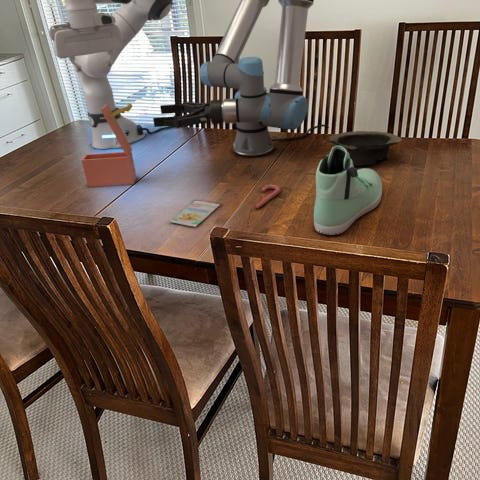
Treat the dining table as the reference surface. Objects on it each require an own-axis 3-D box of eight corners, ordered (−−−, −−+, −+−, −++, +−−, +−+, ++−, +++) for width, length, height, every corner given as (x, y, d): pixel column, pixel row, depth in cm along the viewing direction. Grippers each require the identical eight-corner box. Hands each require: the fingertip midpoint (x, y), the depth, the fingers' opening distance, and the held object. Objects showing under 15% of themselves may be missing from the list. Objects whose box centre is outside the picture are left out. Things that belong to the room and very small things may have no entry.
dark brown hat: (359, 176, 156) (359, 149, 151) (314, 159, 176) (313, 134, 172) (416, 158, 164) (418, 131, 160) (367, 143, 185) (368, 119, 180)
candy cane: (241, 205, 145) (241, 201, 144) (268, 186, 155) (268, 182, 154) (258, 210, 142) (258, 205, 141) (284, 190, 152) (284, 185, 151)
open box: (88, 187, 165) (81, 160, 160) (92, 180, 170) (85, 154, 165) (133, 184, 165) (128, 157, 159) (136, 177, 169) (131, 151, 164)
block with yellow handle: (100, 109, 151) (124, 99, 149) (104, 105, 156) (127, 95, 154) (126, 156, 159) (149, 147, 158) (130, 150, 164) (151, 141, 162)
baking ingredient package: (169, 220, 138) (195, 199, 150) (169, 222, 139) (195, 200, 150) (195, 225, 135) (220, 203, 146) (195, 227, 135) (220, 205, 147)
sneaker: (389, 187, 148) (396, 123, 138) (356, 242, 123) (361, 168, 112) (346, 181, 154) (350, 119, 144) (306, 232, 129) (307, 161, 118)
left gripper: (49, 25, 134) (62, 76, 141) (120, 16, 142) (128, 65, 149) (45, 24, 138) (57, 73, 146) (113, 15, 147) (122, 62, 154)
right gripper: (222, 136, 145) (152, 140, 146) (225, 111, 166) (165, 115, 167) (219, 111, 141) (148, 116, 142) (223, 89, 162) (161, 93, 163)
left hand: (94, 69), depth 147 cm, fingers open, 8 cm apart
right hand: (157, 115), depth 155 cm, fingers open, 13 cm apart
